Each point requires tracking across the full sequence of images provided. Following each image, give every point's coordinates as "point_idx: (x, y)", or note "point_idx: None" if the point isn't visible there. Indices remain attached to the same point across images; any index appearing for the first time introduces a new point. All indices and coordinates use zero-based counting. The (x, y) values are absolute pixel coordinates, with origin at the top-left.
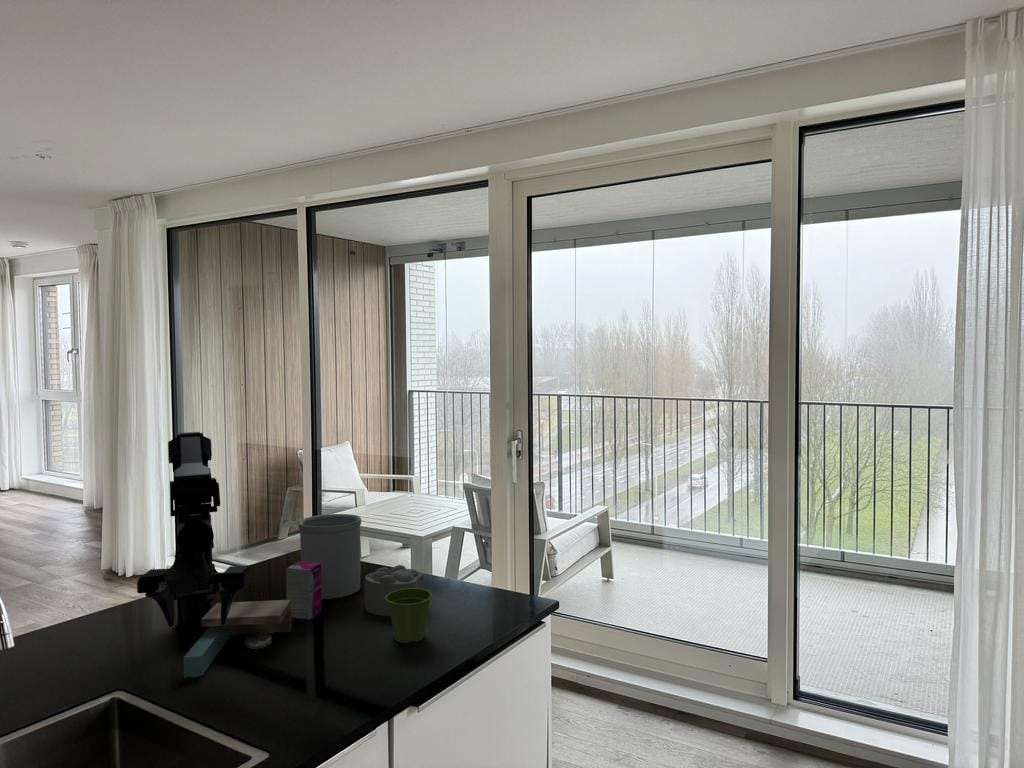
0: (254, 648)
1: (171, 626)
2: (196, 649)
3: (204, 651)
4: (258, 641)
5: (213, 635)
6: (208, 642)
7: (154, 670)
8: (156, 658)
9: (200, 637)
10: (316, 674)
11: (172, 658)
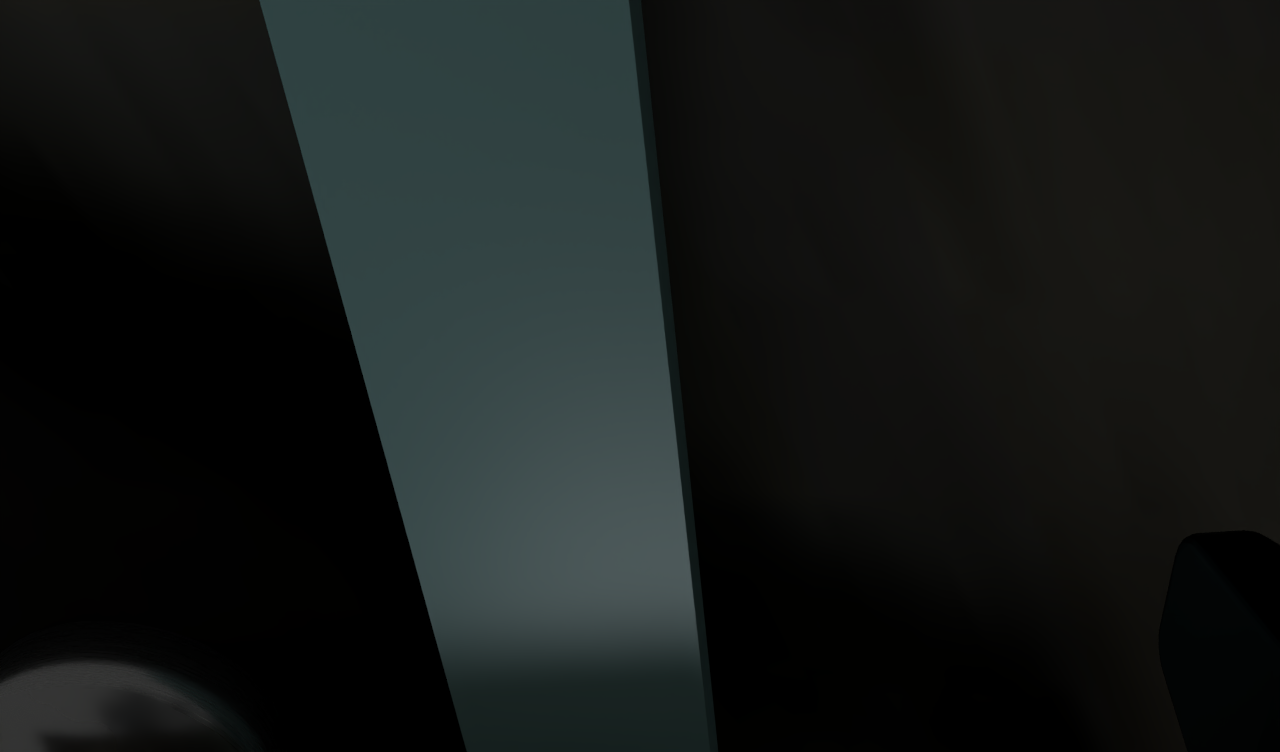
0: (87, 630)
1: (1190, 536)
2: (532, 253)
3: (308, 151)
4: (29, 715)
5: (523, 723)
6: (464, 513)
7: (1212, 96)
8: (1275, 449)
9: (699, 672)
10: None
11: (1057, 442)
